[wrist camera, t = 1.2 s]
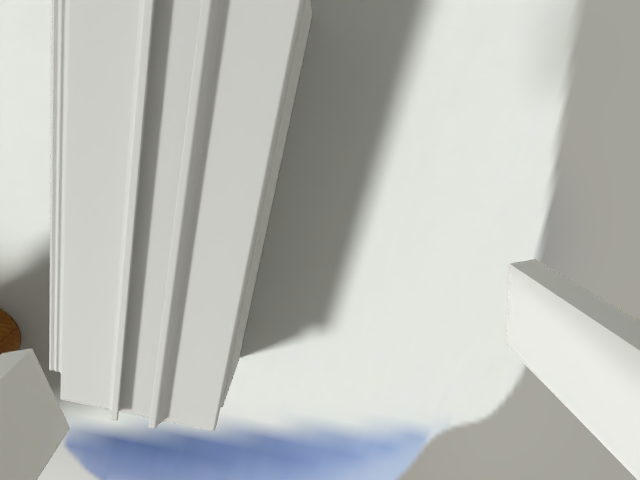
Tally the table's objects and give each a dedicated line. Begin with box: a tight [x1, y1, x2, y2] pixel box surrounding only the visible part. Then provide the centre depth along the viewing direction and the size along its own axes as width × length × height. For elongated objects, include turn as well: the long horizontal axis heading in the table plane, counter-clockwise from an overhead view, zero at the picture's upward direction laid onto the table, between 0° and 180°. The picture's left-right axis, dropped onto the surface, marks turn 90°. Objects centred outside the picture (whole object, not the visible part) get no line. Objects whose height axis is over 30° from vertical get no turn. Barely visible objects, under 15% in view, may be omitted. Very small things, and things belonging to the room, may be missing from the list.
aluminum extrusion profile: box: [49, 0, 313, 431], centre depth 28 cm, size 14×31×10 cm, turn 166°
